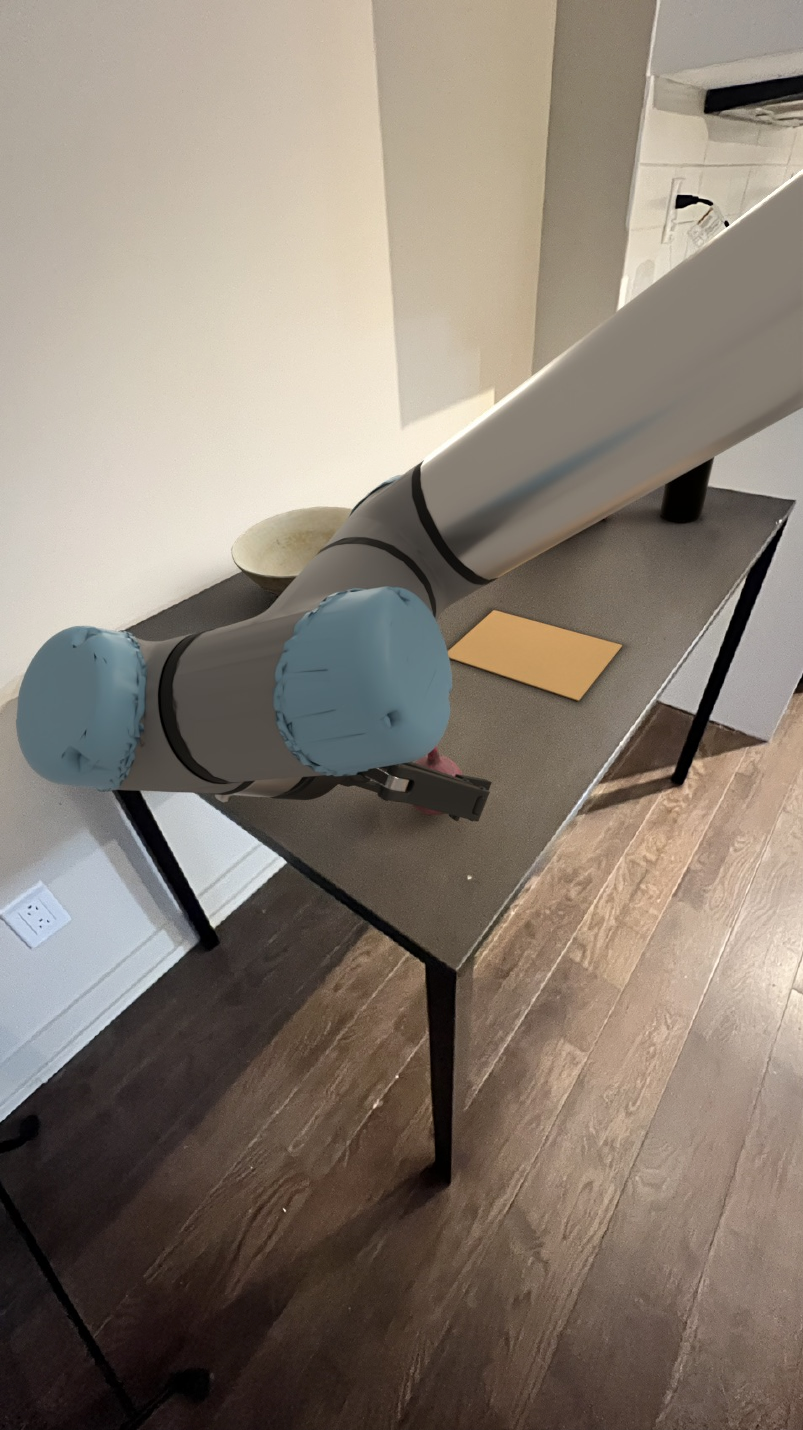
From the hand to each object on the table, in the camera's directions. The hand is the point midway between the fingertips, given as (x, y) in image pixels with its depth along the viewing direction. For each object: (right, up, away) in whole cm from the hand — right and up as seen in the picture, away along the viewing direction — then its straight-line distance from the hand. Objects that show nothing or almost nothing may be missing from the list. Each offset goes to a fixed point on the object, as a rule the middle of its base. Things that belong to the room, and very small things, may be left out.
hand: (421, 766), depth 59 cm
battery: (+50, +42, +56) cm, 86 cm away
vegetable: (+2, -5, +6) cm, 8 cm away
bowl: (-16, +26, +46) cm, 56 cm away
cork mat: (+16, +14, +27) cm, 34 cm away
